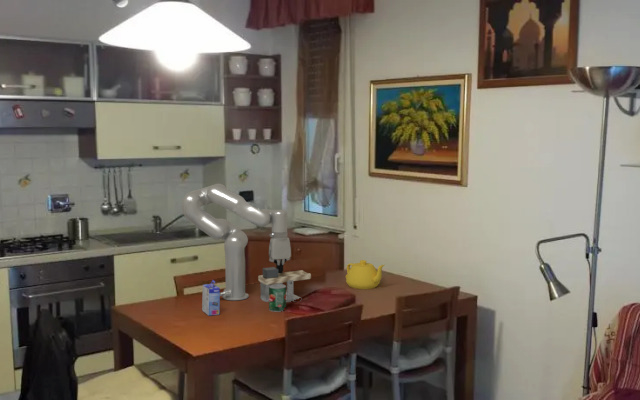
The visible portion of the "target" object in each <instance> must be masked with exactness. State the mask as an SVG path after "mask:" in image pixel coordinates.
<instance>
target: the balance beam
mask: <svg viewBox="0 0 640 400" xmlns="http://www.w3.org/2000/svg"><path fill="white" fill-rule="evenodd" d="M257 278H258V282H260V283H261V282H262V283H264V284H266V285H267V284H269V285H272V284H276V283H287V280H293V282H297V281H304V280H310V279H312V274H311V273H309V272H306V271H304V270H302V269H301V270H295V271H285V272H284V271H283V273H278V277H277V278H270V279H265V278H263V274H261V275H258V277H257Z"/></svg>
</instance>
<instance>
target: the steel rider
mask: <svg viewBox="0 0 640 400" xmlns="http://www.w3.org/2000/svg"><path fill="white" fill-rule="evenodd" d="M262 275H263V278H265V279H270V278H277V277H278V269H277V268H276V266H271V267H263V268H262Z"/></svg>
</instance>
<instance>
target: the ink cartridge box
mask: <svg viewBox="0 0 640 400" xmlns="http://www.w3.org/2000/svg"><path fill="white" fill-rule="evenodd" d="M215 284H216V281H215V280H214V279H212V280H211V282H210V283H209V284H208V283H207V284H206V283H205V284H202V292H201V293H202V299H201V302H202V303H201V306H202V307H201V311H202V312H203V313H205V314H206V315H207V316H208V317H211V316H219V315H220V312H221V311H220V309H221V308H220V307H221V306H220V305H221V304H220V303H221V302H220V300H221V299H220V298H221V296H220V292H221V288H220V287H219V286H217V285H215Z"/></svg>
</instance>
